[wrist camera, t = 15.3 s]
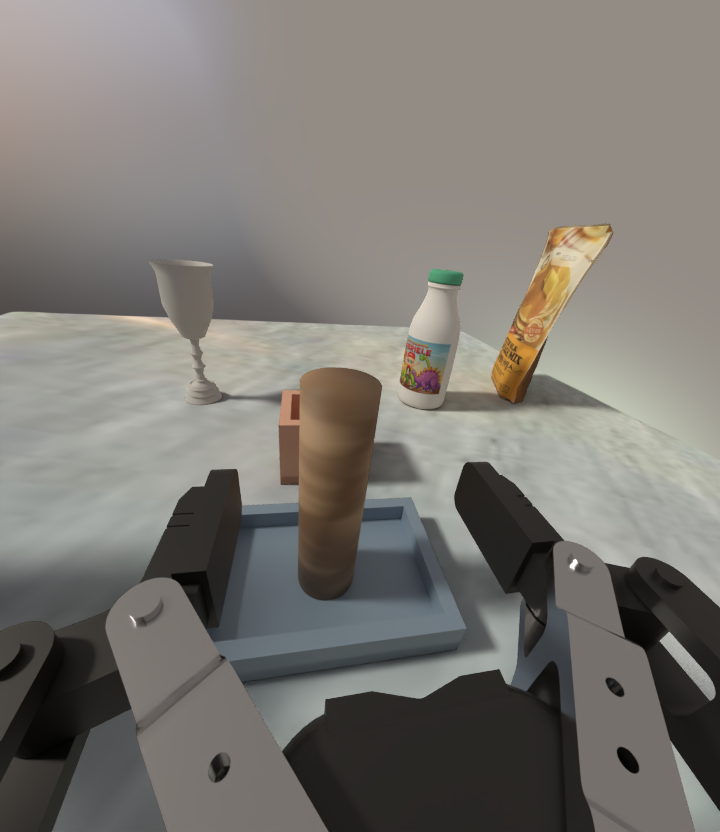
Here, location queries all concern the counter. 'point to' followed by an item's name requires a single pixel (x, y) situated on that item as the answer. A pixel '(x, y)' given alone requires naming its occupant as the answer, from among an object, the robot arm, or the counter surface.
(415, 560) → the slate tray
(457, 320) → the milk bottle
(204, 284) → the chalice
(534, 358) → the pancake mix bag
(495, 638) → the counter surface
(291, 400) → the terracotta cup
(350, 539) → the walnut dowel
